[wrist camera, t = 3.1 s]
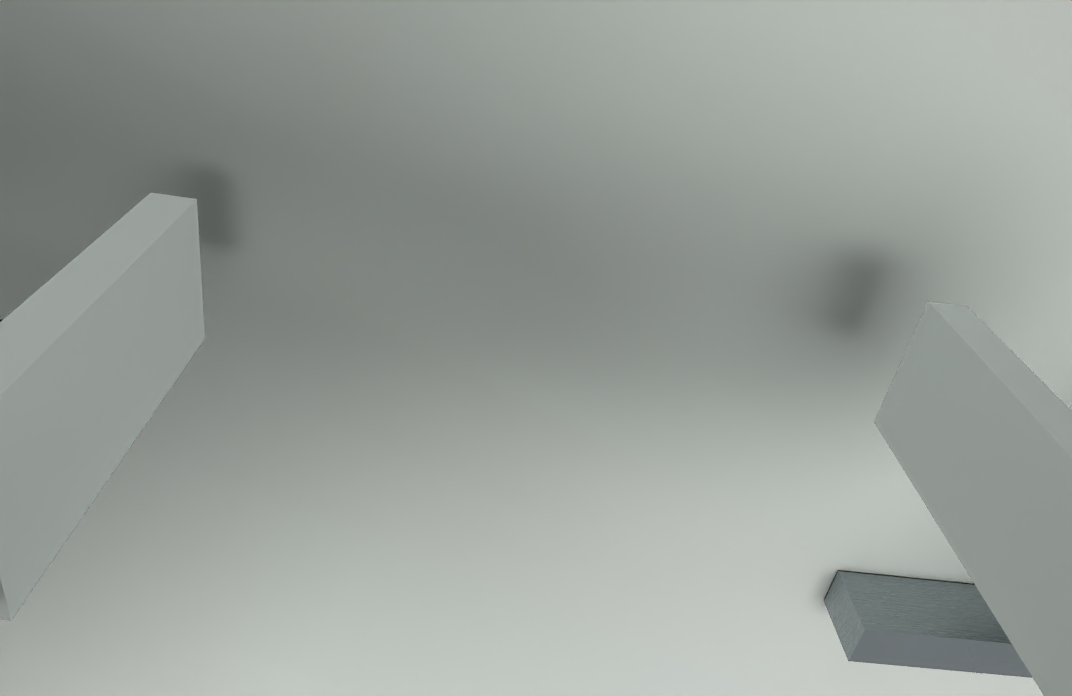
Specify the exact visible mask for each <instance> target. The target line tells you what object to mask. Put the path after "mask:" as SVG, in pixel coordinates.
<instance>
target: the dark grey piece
mask: <svg viewBox="0 0 1072 696" xmlns="http://www.w3.org/2000/svg"><path fill="white" fill-rule="evenodd" d="M824 603H825V605H826V608H827V610H828V612H829V615H830V617H831V620H832V622H833V625H834V627H835V629H836V632H837V634H838V637H839V639H840V642H841V644H842V646H843V649H844V651H845V654H846V656H847V659H848V661H855V662H866V663H877V664H888V665H899V666H910V667H921V668H932V669H943V670H954V671H965V672H976V673H987V674H998V675H1009V676H1020V677H1031V678H1033V677H1032V676H1031V674H1030V672H1029V671H1028V669H1027V668H1026V666H1025V664H1024V663H1023V661H1022V660H1021V658H1020V656H1019V655H1018V653H1017V651H1016V650H1015V648H1014V647H1013V645H1012V643H1011V642H1010V640H1009V639H1008V637H1007V635H1006V634H1005V632H1004V631H1003V629H1002V627H1001V626H1000V624H999V622H998V621H997V619H996V618H995V616H994V614H993V613H992V611H991V610H990V608H989V606H988V605H987V603H986V602H985V600H984V598H983V597H982V595H981V593H980V592H979V590H978V589H977V587H976V585H971V584H961V583H951V582H941V581H931V580H921V579H912V578H902V577H892V576H882V575H872V574H862V573H852V572H842V571H838V573H837V575H836V577H835V579H834V581H833V583H832V585H831V588H830V590H829V592H828V594H827V596H826V598H825V600H824Z"/></svg>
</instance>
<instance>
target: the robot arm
mask: <svg viewBox="0 0 1072 696" xmlns="http://www.w3.org/2000/svg"><path fill="white" fill-rule="evenodd" d="M204 339H205V325H204V309H203V292H202V275H201V258H200V242H199V225H198V208H197V199H193V198H186V197H179V196H172V195H164V194H157V193H150V194H148V195H147V196H146V197H145V198H144V199H143V200H141V201H140V202H139V203H138V204H137V205H136V206H135V207H133V208H132V209H131V210H130V211H129V212H128V213H126V214H125V215H124V216H123V217H122V218H121V219H119V220H118V221H117V222H116V223H115V224H114V225H112V226H111V227H110V228H109V229H108V230H107V231H105V232H104V233H103V234H102V235H101V236H100V237H99V238H97V239H96V240H95V241H94V242H93V243H92V244H90V245H89V246H88V247H87V248H86V249H85V250H83V251H82V252H81V253H80V254H79V255H78V256H76V257H75V258H74V259H73V260H72V261H71V262H69V263H68V264H67V265H66V266H65V267H64V268H63V269H61V270H60V271H59V272H58V273H57V274H56V275H54V276H53V277H52V278H51V279H50V280H49V281H47V282H46V283H45V284H44V285H43V286H42V287H40V288H39V289H38V290H37V291H36V292H35V293H33V294H32V295H31V296H30V297H29V298H28V299H27V300H25V301H24V302H23V303H22V304H21V305H20V306H18V307H17V308H16V309H15V310H14V311H13V312H11V313H10V314H9V315H8V316H7V317H6V318H4V319H3V320H0V619H1V620H12V618H13V617H14V616H15V614H16V613H17V611H18V610H19V608H20V607H21V605H22V604H23V602H24V601H25V600H26V598H27V597H28V595H29V594H30V592H31V591H32V589H33V588H34V586H35V585H36V584H37V582H38V581H39V579H40V578H41V576H42V575H43V573H44V572H45V570H46V569H47V568H48V566H49V565H50V563H51V562H52V560H53V559H54V557H55V556H56V554H57V553H58V552H59V550H60V549H61V547H62V546H63V544H64V543H65V541H66V540H67V538H68V537H69V536H70V534H71V533H72V531H73V530H74V528H75V527H76V525H77V524H78V522H79V521H80V520H81V518H82V517H83V515H84V514H85V512H86V511H87V509H88V508H89V506H90V505H91V504H92V502H93V501H94V499H95V498H96V496H97V495H98V493H99V492H100V490H101V489H102V488H103V486H104V485H105V483H106V482H107V480H108V479H109V477H110V476H111V474H112V473H113V471H114V470H115V469H116V467H117V466H118V464H119V463H120V461H121V460H122V458H123V457H124V455H125V454H126V453H127V451H128V450H129V448H130V447H131V445H132V444H133V442H134V441H135V439H136V438H137V437H138V435H139V434H140V432H141V431H142V429H143V428H144V426H145V425H146V423H147V422H148V421H149V419H150V418H151V416H152V415H153V413H154V412H155V410H156V409H157V407H158V406H159V405H160V403H161V402H162V400H163V399H164V397H165V396H166V394H167V393H168V391H169V390H170V389H171V387H172V386H173V384H174V383H175V381H176V380H177V378H178V377H179V375H180V374H181V373H182V371H183V370H184V368H185V367H186V365H187V364H188V362H189V361H190V359H191V358H192V357H193V355H194V354H195V352H196V351H197V349H198V348H199V346H200V345H201V343H202V342H203V341H204ZM874 423H875V424H876V426H877V428H878V429H879V431H880V432H881V434H882V436H883V437H884V439H885V440H886V442H887V444H888V445H889V447H890V449H891V450H892V452H893V453H894V455H895V457H896V458H897V460H898V461H899V463H900V465H901V466H902V468H903V469H904V471H905V473H906V474H907V476H908V478H909V479H910V481H911V482H912V484H913V486H914V487H915V489H916V490H917V492H918V494H919V495H920V497H921V498H922V500H923V502H924V503H925V505H926V507H927V508H928V510H929V511H930V513H931V515H932V516H933V518H934V519H935V521H936V523H937V524H938V526H939V527H940V529H941V531H942V532H943V534H944V536H945V537H946V539H947V540H948V542H949V544H950V545H951V547H952V548H953V550H954V552H955V553H956V555H957V556H958V558H959V560H960V561H961V563H962V564H963V566H964V568H965V569H966V571H967V573H968V574H969V576H970V577H971V579H972V581H973V582H974V584H975V585H976V587H977V589H978V590H979V592H980V593H981V595H982V597H983V598H984V600H985V602H986V603H987V605H988V606H989V608H990V610H991V611H992V613H993V614H994V616H995V618H996V619H997V621H998V622H999V624H1000V626H1001V627H1002V629H1003V631H1004V632H1005V634H1006V635H1007V637H1008V639H1009V640H1010V642H1011V643H1012V645H1013V647H1014V648H1015V650H1016V651H1017V653H1018V655H1019V656H1020V658H1021V660H1022V661H1023V663H1024V664H1025V666H1026V668H1027V669H1028V671H1029V672H1030V674H1031V676H1032V677H1033V679H1034V680H1035V682H1036V684H1037V685H1038V687H1039V689H1040V690H1041V692H1042V693H1043V695H1044V696H1072V411H1071V410H1070V409H1069V408H1068V407H1067V406H1066V405H1065V404H1064V403H1063V402H1062V401H1061V400H1060V399H1059V398H1058V397H1057V396H1056V395H1055V394H1054V393H1053V392H1052V391H1051V390H1050V389H1049V388H1048V387H1047V386H1046V385H1045V384H1044V383H1043V382H1042V381H1041V380H1040V379H1039V378H1038V377H1037V376H1036V375H1035V374H1034V373H1033V372H1032V371H1031V370H1030V369H1029V368H1028V367H1027V366H1026V365H1025V364H1024V363H1023V362H1022V361H1021V360H1020V359H1019V358H1018V357H1017V356H1016V355H1015V354H1014V353H1013V352H1012V351H1011V350H1010V349H1009V348H1008V347H1007V346H1006V345H1005V344H1004V343H1003V342H1002V341H1001V340H1000V339H999V338H998V337H997V336H996V335H995V334H994V333H993V332H992V331H991V330H990V329H989V328H988V327H987V326H986V325H985V324H984V323H983V322H982V321H981V320H980V319H979V318H978V317H977V316H976V315H975V314H974V313H973V312H972V311H971V310H970V309H969V307H967V306H960V305H952V304H945V303H938V302H931V301H928V303H927V305H926V307H925V310H924V312H923V314H922V316H921V318H920V321H919V323H918V325H917V327H916V330H915V332H914V334H913V336H912V339H911V341H910V343H909V345H908V348H907V350H906V352H905V354H904V356H903V359H902V361H901V363H900V365H899V368H898V370H897V372H896V374H895V377H894V379H893V381H892V383H891V386H890V388H889V390H888V392H887V395H886V397H885V399H884V401H883V403H882V406H881V408H880V410H879V412H878V415H877V417H876V419H875V421H874Z"/></svg>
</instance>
